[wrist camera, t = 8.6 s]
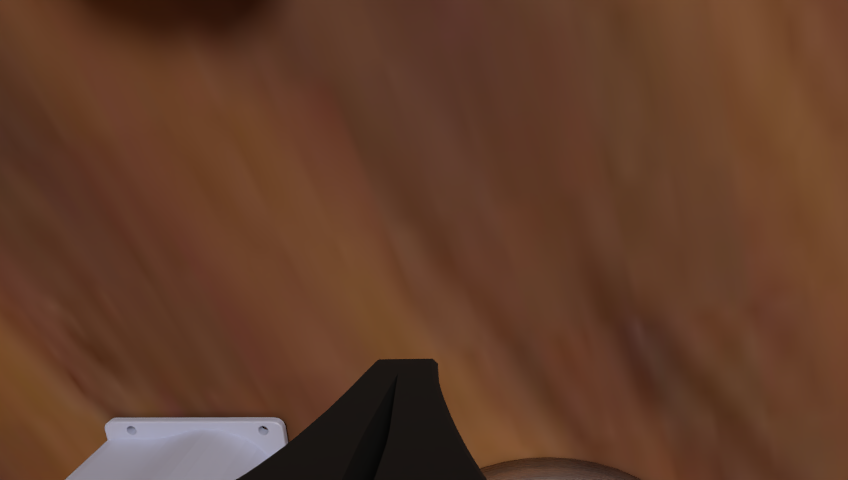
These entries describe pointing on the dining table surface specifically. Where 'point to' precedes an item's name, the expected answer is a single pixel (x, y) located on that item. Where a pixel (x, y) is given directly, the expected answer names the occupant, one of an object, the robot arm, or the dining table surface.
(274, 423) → the robot arm
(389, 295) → the dining table surface
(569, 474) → the cap base
